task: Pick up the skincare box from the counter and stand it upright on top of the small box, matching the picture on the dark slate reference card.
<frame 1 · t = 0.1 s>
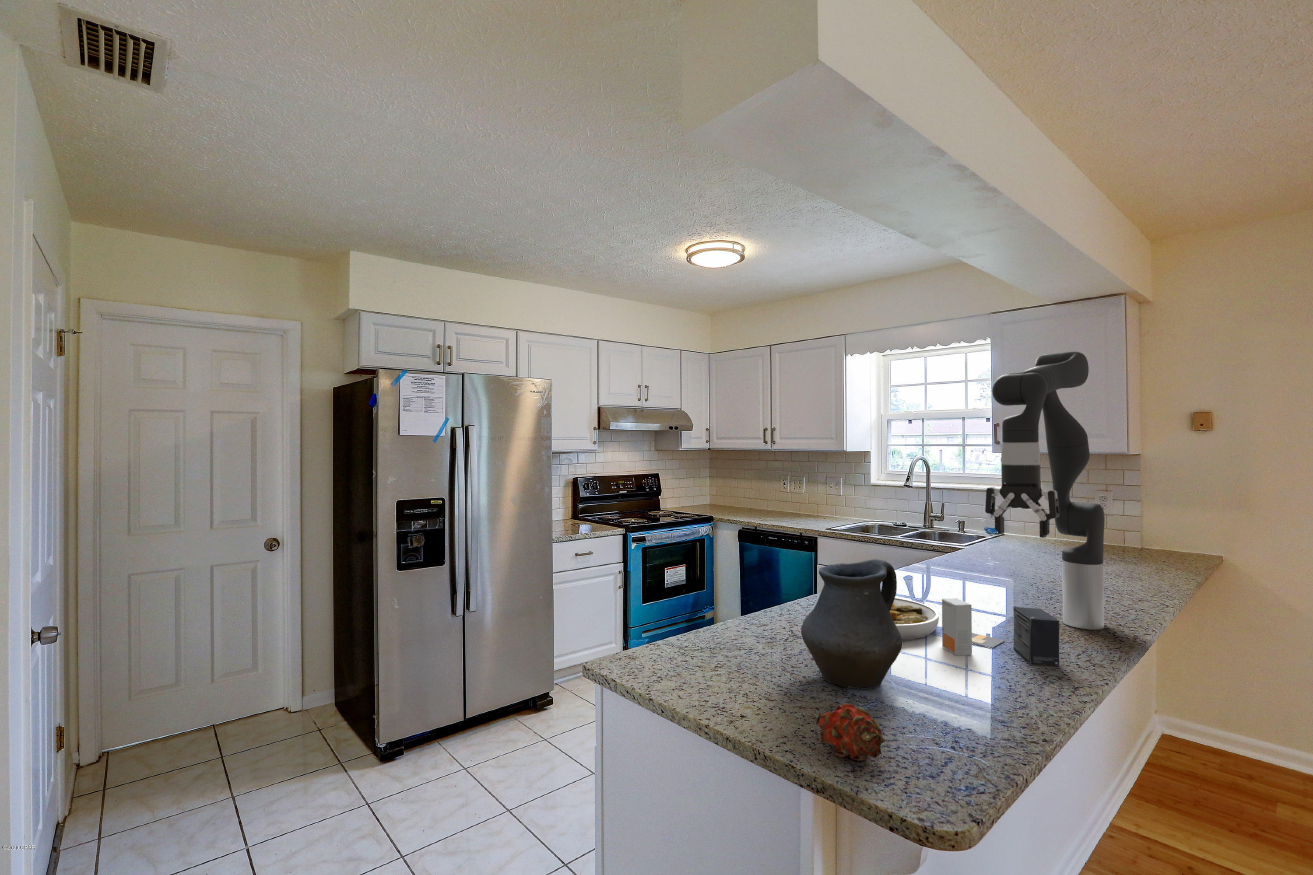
hand: (1021, 535, 137), 29 cm above the table, tool pointing down, fingers open, 8 cm apart
pitcher: (853, 680, 130), on the table
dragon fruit: (848, 755, 99), on the table
skincare box: (956, 652, 147), on the table
small box: (1036, 658, 142), on the table
bowl: (878, 627, 167), on the table
reference card: (977, 640, 155), on the table
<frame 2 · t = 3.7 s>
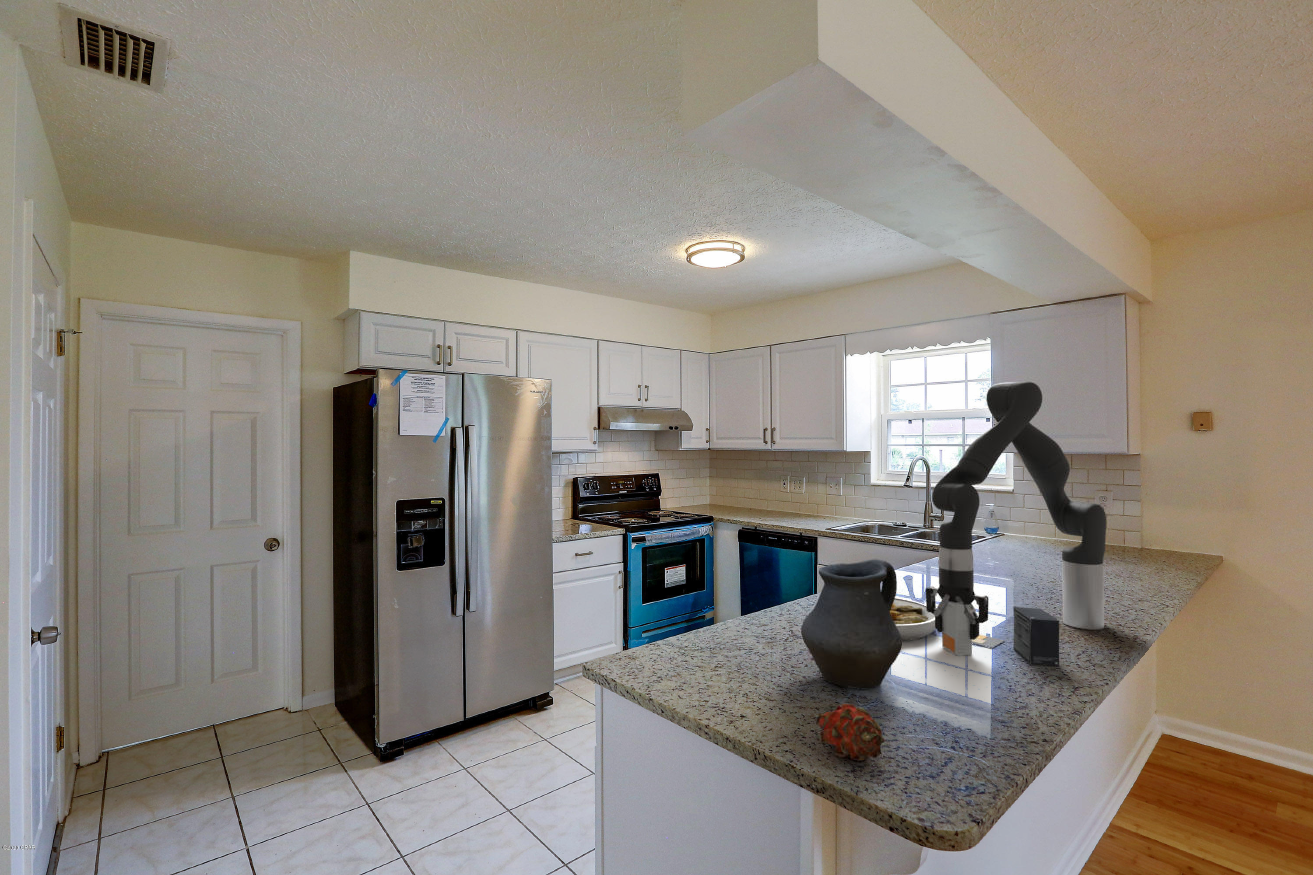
hand: (956, 634, 147), 4 cm above the table, tool pointing down, fingers closed on skincare box, 7 cm apart
skincare box: (956, 651, 147), on the table, touching gripper
everything else where it was.
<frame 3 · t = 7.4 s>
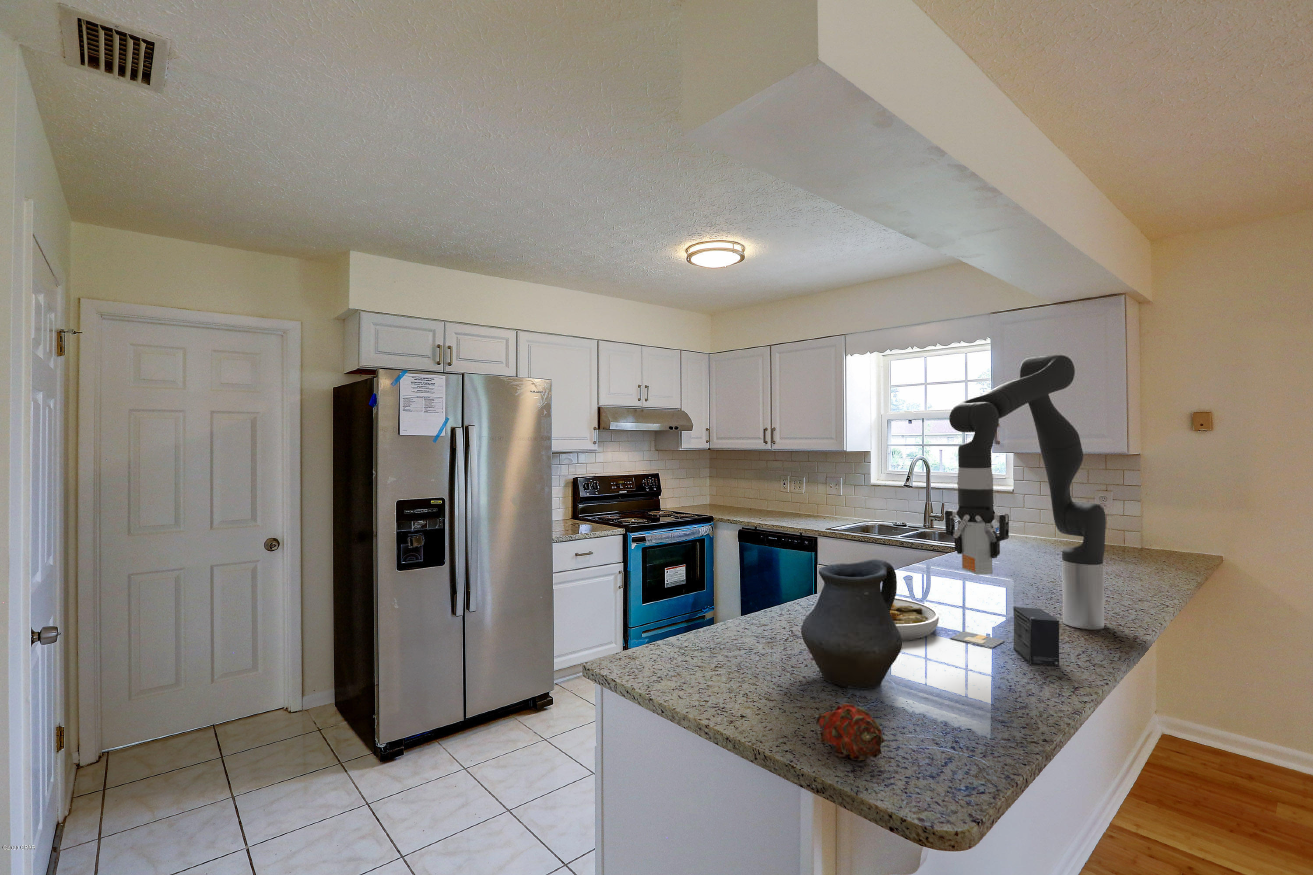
hand: (976, 555, 146), 23 cm above the table, tool pointing down, fingers closed on skincare box, 7 cm apart
skincare box: (977, 572, 146), point 19 cm above the table, touching gripper
everything else where it was.
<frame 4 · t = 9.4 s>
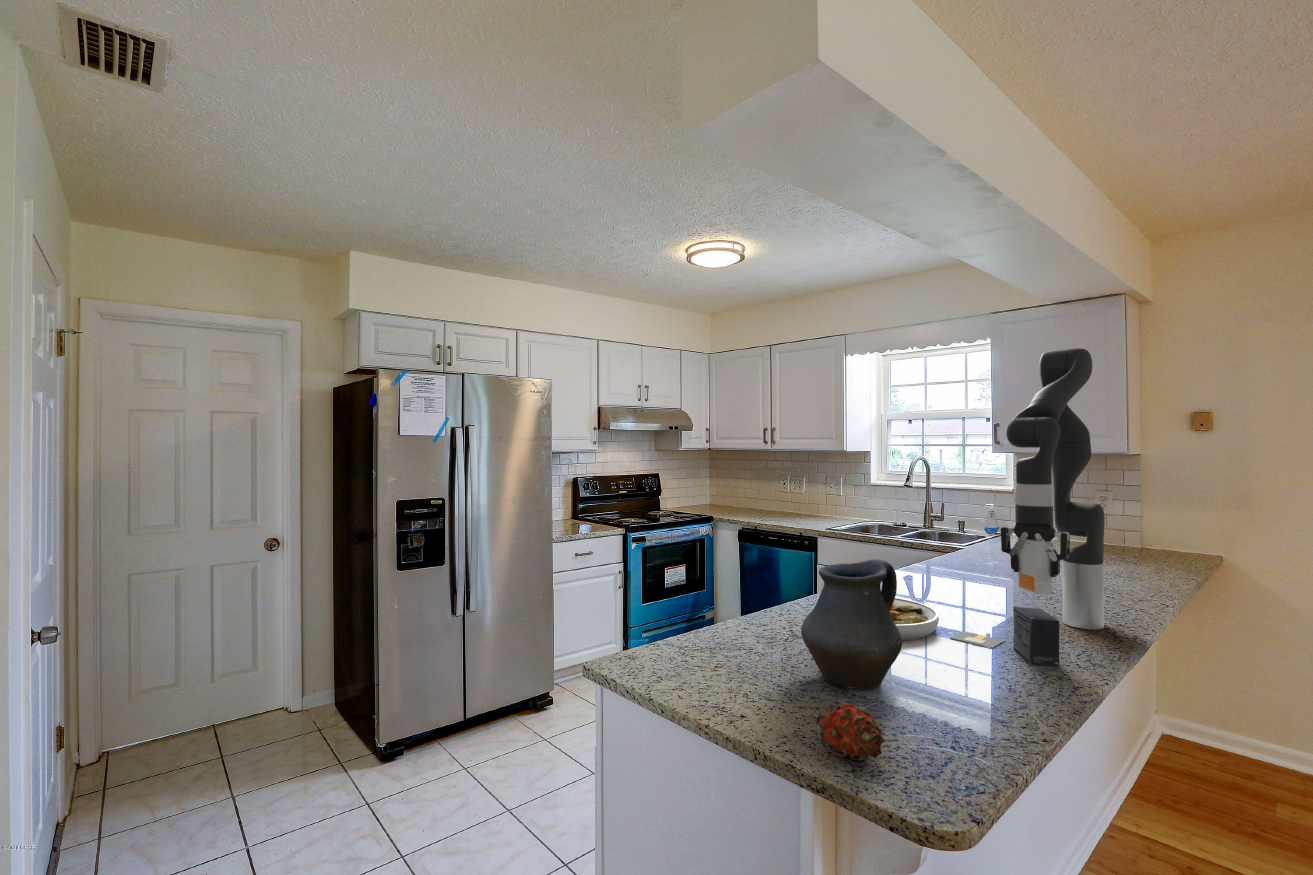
hand: (1034, 574, 142), 19 cm above the table, tool pointing down, fingers closed on skincare box, 7 cm apart
skincare box: (1035, 591, 142), point 15 cm above the table, touching gripper
everything else where it was.
when the fingers open (15 cm above the table, at t = 11.3 s): skincare box stays where it is, resting on small box.
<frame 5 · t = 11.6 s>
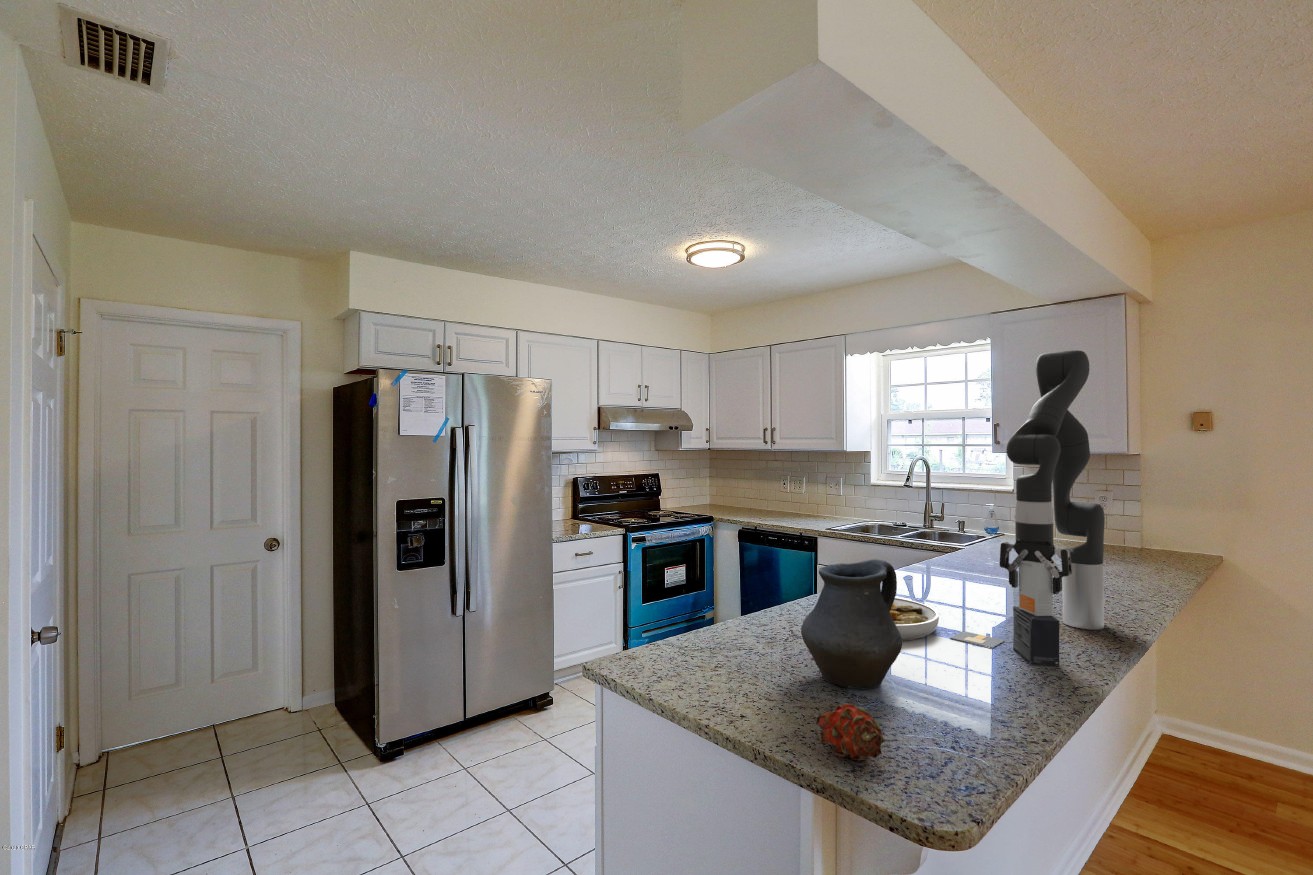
hand: (1034, 590, 142), 16 cm above the table, tool pointing down, fingers open, 8 cm apart
skincare box: (1035, 613, 142), point 10 cm above the table, touching small box
small box: (1036, 658, 142), on the table, touching skincare box
everything else where it was.
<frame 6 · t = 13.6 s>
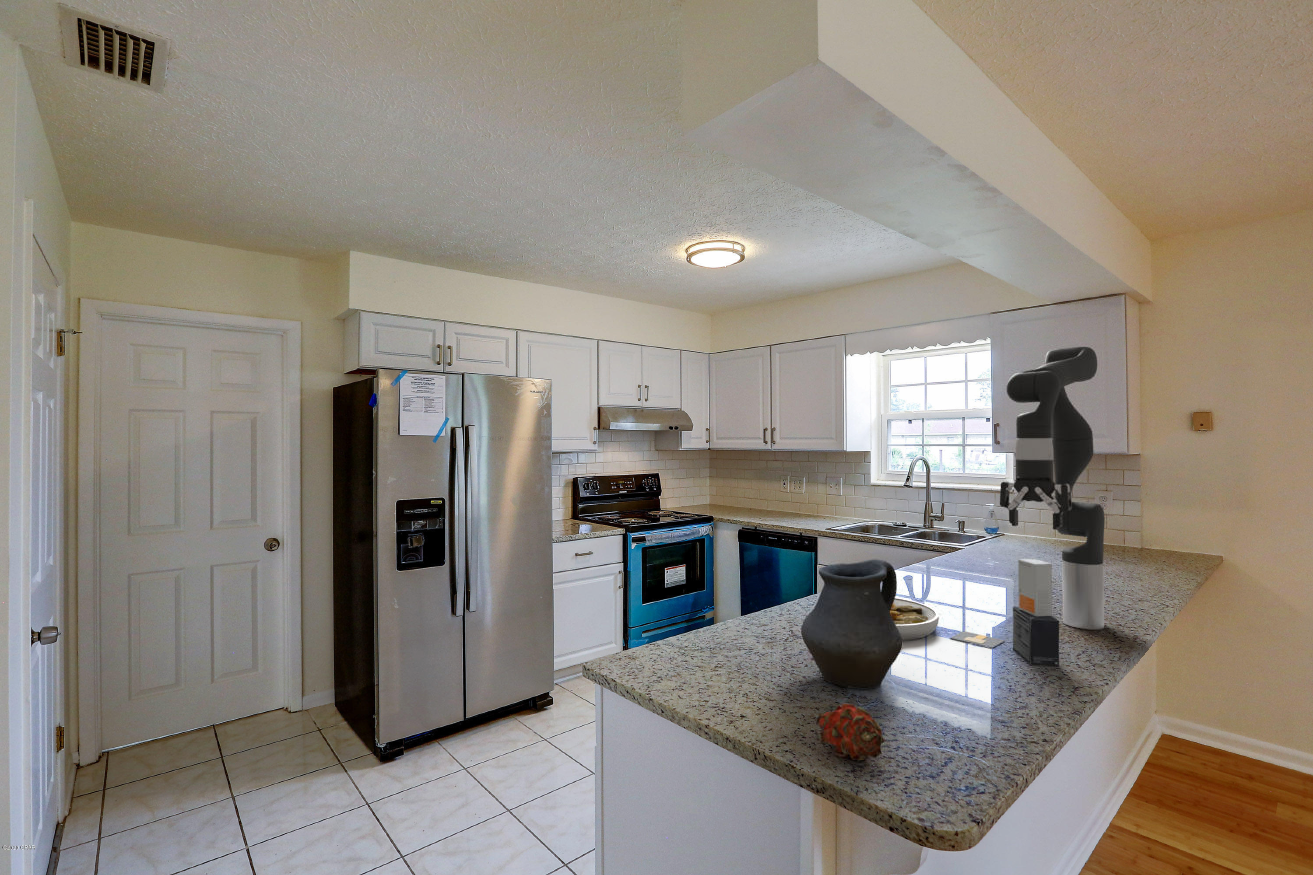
hand: (1035, 527, 142), 30 cm above the table, tool pointing down, fingers open, 8 cm apart
nothing on the table moved.
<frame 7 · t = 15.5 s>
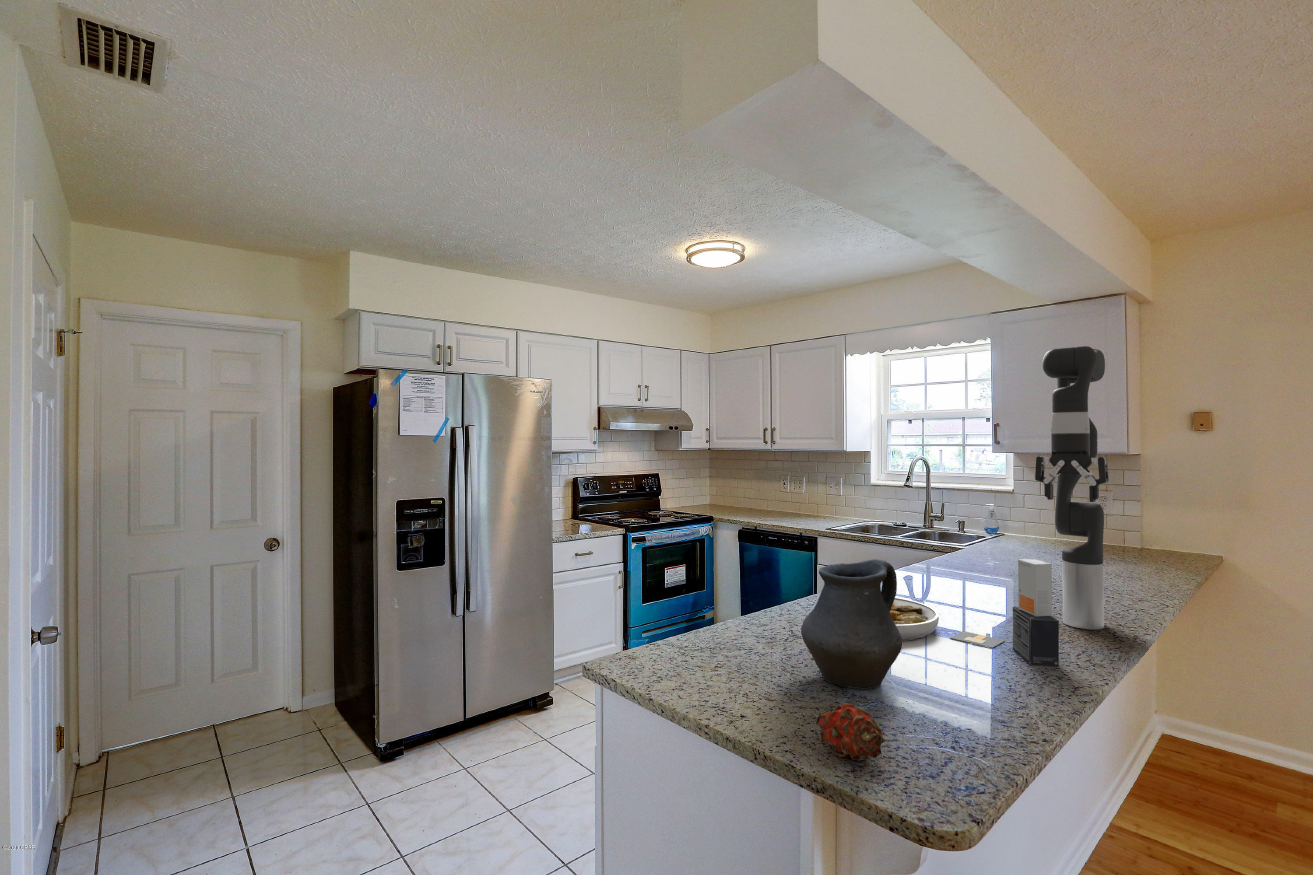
hand: (1070, 500, 144), 36 cm above the table, tool pointing down, fingers open, 8 cm apart
nothing on the table moved.
at the end: skincare box inside the target area on the small box (0.1 cm from its centre), point 10.5 cm above the small box's base; skincare box tilted 0°; the gripper is holding nothing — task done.
